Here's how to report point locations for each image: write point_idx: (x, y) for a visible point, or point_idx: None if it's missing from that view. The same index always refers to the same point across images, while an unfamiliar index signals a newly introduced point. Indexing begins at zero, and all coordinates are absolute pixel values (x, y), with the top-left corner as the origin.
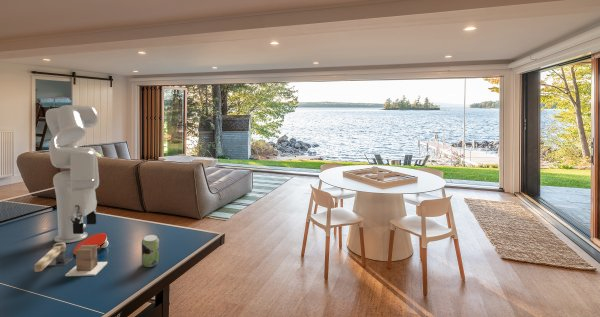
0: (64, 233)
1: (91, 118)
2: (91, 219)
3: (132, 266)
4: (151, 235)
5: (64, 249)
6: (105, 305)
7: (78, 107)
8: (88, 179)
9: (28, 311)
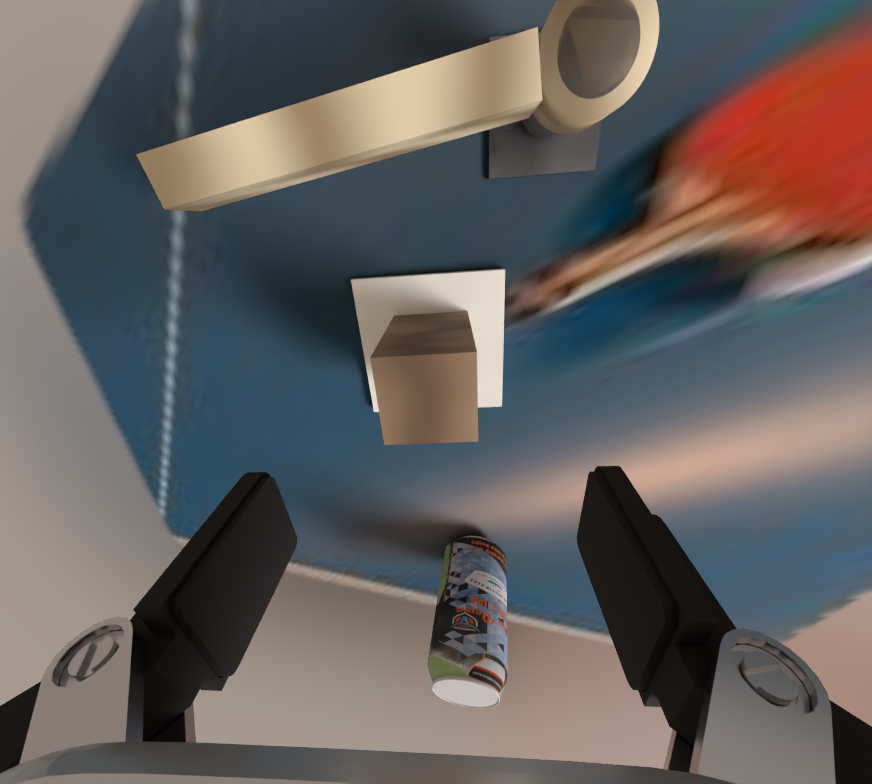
0: None
1: None
2: (609, 572)
3: (461, 502)
4: (491, 698)
5: (563, 130)
6: (193, 519)
7: None
8: None
9: (62, 315)
